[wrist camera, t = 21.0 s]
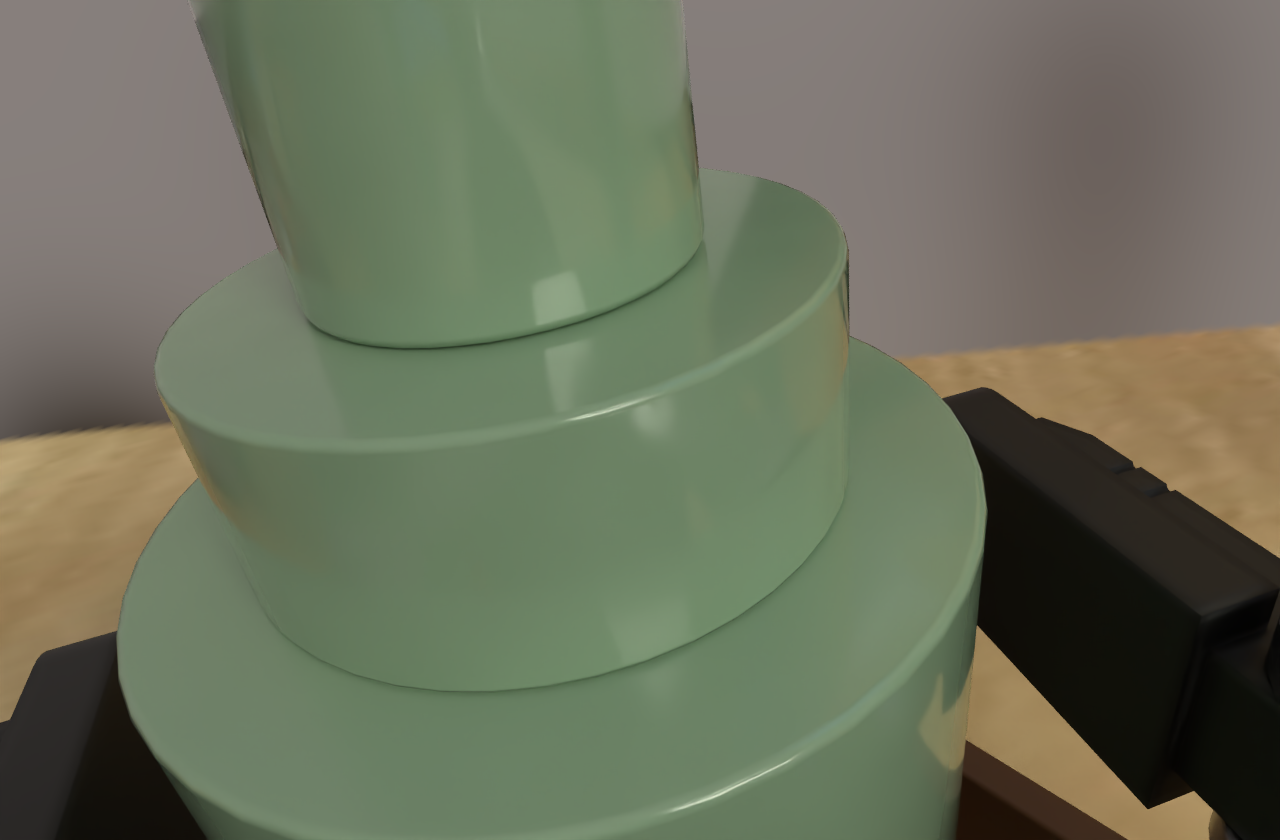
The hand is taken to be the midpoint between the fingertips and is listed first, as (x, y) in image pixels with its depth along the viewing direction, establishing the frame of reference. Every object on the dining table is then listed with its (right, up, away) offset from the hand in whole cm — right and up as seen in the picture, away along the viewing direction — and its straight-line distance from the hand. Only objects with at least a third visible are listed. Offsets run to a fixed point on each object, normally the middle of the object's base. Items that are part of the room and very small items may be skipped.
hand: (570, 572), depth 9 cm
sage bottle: (+2, -8, +3) cm, 9 cm away
